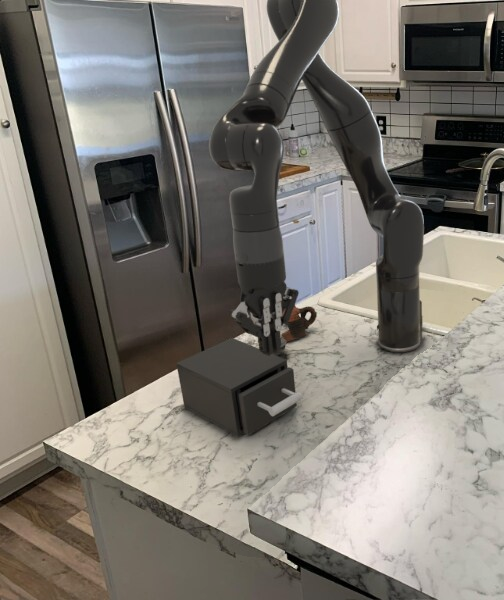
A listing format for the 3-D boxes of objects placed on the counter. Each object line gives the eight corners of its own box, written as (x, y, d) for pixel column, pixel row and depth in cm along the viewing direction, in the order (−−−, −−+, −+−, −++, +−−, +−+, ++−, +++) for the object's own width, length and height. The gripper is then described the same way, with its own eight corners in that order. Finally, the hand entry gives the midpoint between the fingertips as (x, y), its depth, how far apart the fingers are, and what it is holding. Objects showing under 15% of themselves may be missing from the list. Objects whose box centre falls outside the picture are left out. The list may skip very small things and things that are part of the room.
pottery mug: (272, 348, 137) (259, 313, 137) (275, 347, 146) (263, 315, 147) (323, 328, 139) (309, 294, 139) (322, 329, 148) (310, 297, 148)
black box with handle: (314, 413, 110) (311, 376, 107) (266, 445, 102) (261, 405, 99) (246, 382, 121) (241, 347, 118) (197, 408, 113) (190, 371, 110)
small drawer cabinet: (291, 404, 115) (286, 359, 111) (237, 437, 105) (230, 389, 102) (238, 380, 123) (232, 337, 120) (184, 408, 114) (176, 363, 111)
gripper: (275, 239, 102) (285, 332, 109) (208, 261, 93) (223, 361, 99) (307, 246, 98) (315, 343, 105) (240, 270, 88) (254, 375, 95)
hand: (270, 351), depth 102 cm, fingers closed
